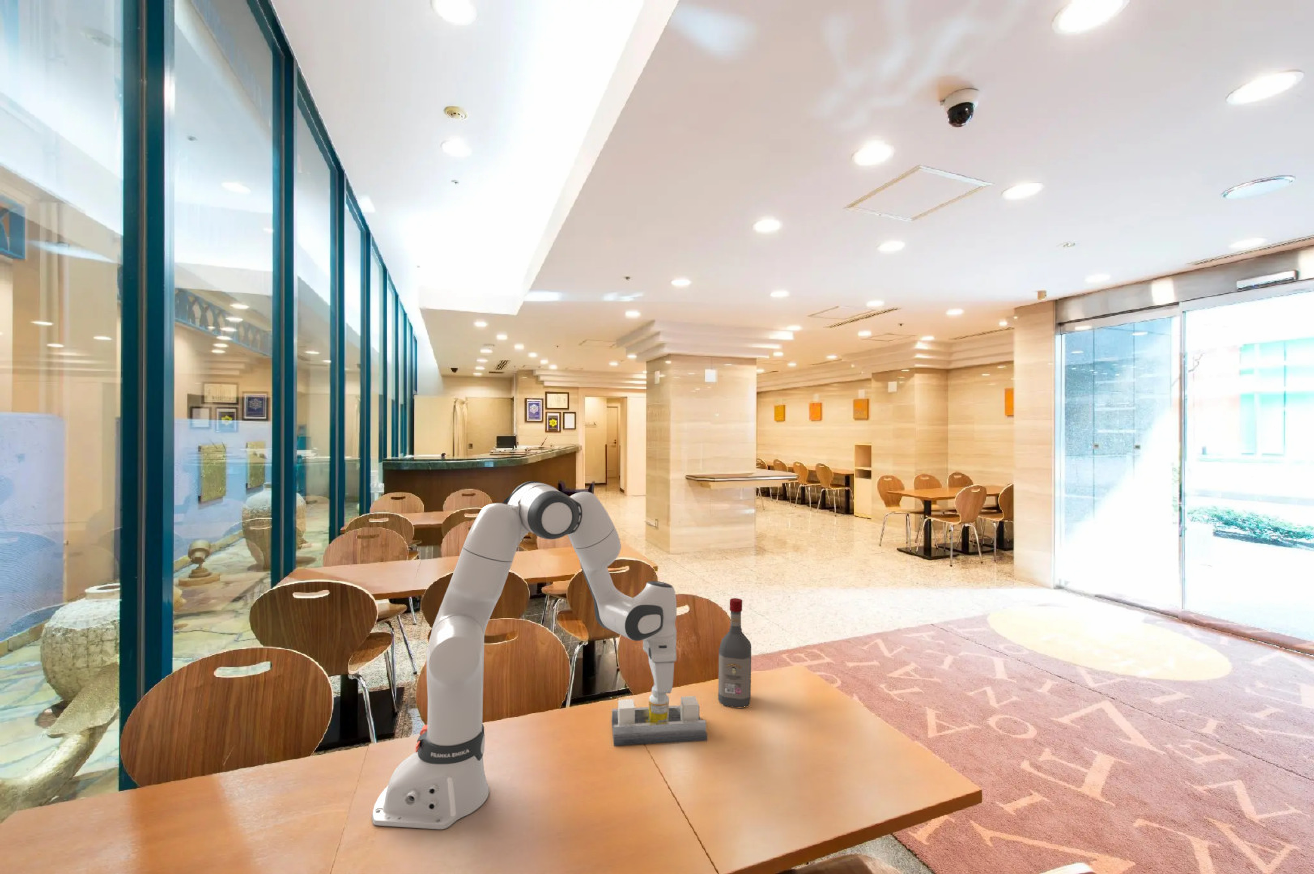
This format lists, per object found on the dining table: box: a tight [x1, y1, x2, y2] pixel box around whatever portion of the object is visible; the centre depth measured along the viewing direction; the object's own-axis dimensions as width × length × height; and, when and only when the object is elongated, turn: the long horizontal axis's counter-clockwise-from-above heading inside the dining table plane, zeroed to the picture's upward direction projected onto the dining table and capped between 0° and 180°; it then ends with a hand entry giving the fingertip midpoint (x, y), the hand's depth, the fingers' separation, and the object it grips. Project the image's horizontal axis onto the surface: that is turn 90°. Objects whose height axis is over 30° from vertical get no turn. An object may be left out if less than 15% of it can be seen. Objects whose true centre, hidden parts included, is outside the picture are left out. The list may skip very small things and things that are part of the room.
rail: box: [611, 704, 708, 747], centre depth 142 cm, size 24×12×4 cm, turn 98°
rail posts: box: [617, 695, 700, 725], centre depth 142 cm, size 21×5×6 cm, turn 98°
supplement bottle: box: [648, 685, 670, 723], centre depth 142 cm, size 5×5×10 cm
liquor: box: [717, 597, 752, 708], centre depth 159 cm, size 9×9×30 cm
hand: (659, 694), depth 142 cm, fingers open, 5 cm apart
